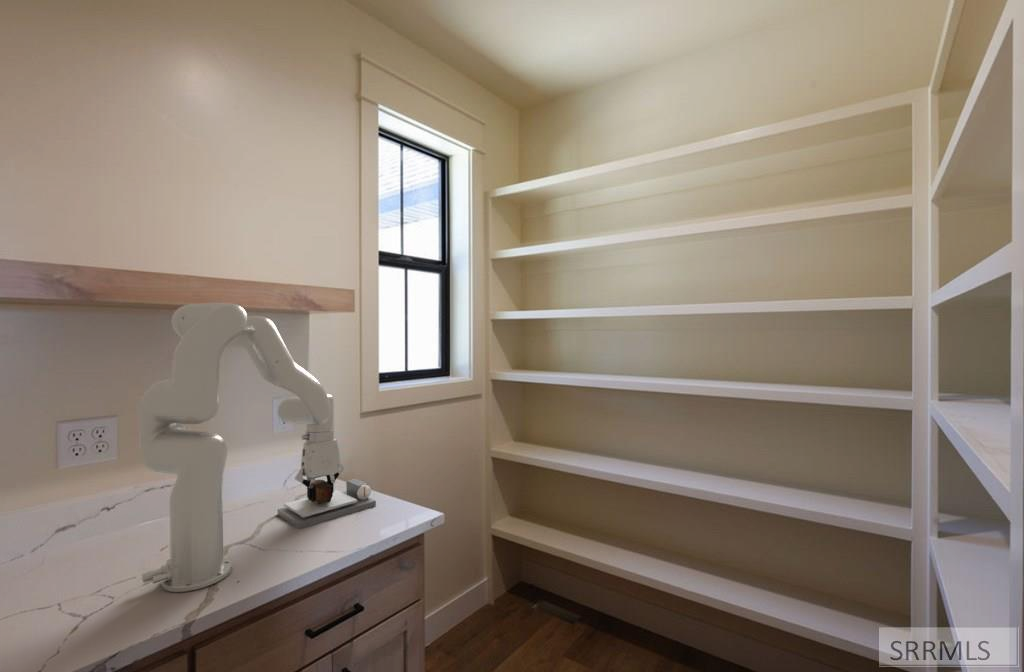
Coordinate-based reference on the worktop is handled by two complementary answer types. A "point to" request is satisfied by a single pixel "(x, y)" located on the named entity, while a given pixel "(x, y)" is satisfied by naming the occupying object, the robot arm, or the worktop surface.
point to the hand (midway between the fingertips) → (320, 497)
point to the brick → (322, 491)
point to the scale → (328, 505)
